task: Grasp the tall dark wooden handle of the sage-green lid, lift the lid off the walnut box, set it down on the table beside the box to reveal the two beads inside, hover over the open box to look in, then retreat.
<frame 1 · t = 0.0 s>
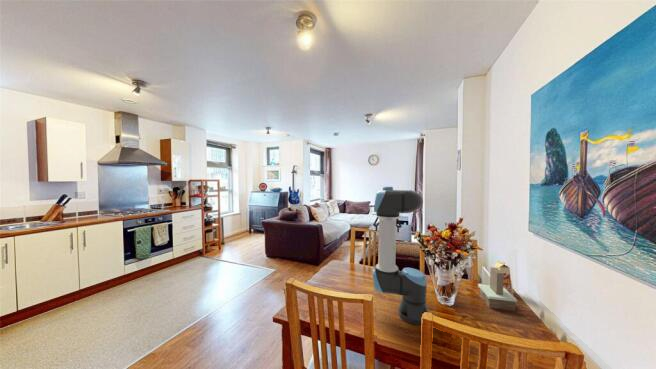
hand: (386, 236, 167), 28 cm above the table, fingers open, 13 cm apart
ivory bead: (502, 305, 126), point 1 cm above the table, touching walnut box
terracotta bead: (489, 298, 133), point 1 cm above the table, touching walnut box
milk carton: (500, 293, 142), on the table
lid: (496, 293, 129), point 6 cm above the table, touching walnut box
walnut box: (495, 303, 129), on the table
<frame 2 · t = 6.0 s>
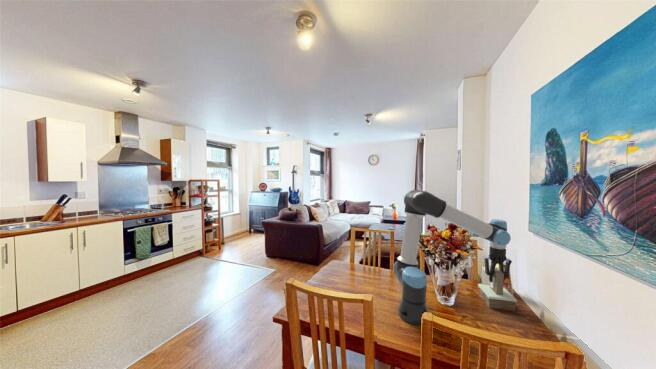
hand: (496, 287, 129), 9 cm above the table, fingers closed on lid, 3 cm apart
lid: (496, 293, 129), point 6 cm above the table, touching gripper, walnut box
everything else where it was.
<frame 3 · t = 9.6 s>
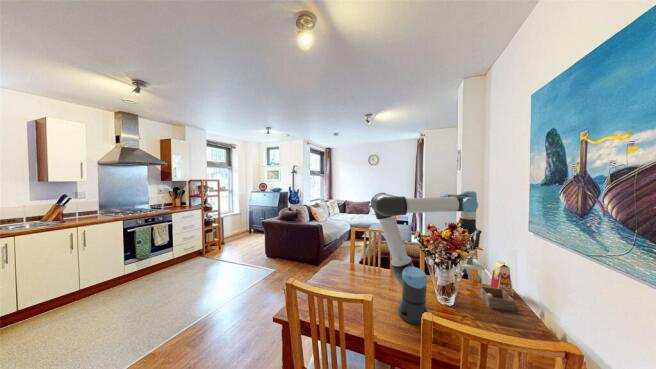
hand: (467, 258, 130), 25 cm above the table, fingers closed on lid, 3 cm apart
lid: (466, 263, 131), point 22 cm above the table, touching gripper
everything else where it was.
when the fingers open (5 cm above the table, at t = 13.4 s): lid drops 2 cm, on the table.
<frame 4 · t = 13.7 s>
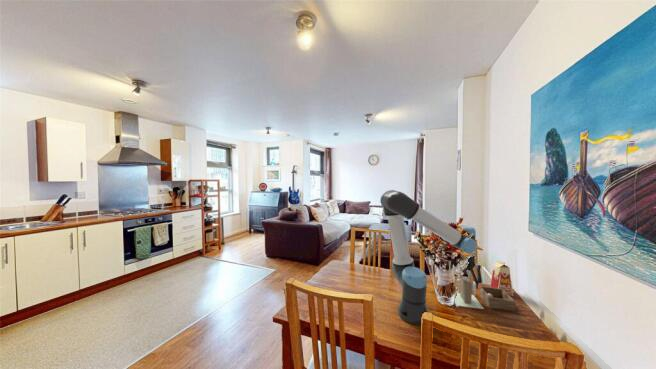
hand: (465, 292, 131), 5 cm above the table, fingers open, 8 cm apart
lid: (465, 301, 131), on the table
everything else where it was.
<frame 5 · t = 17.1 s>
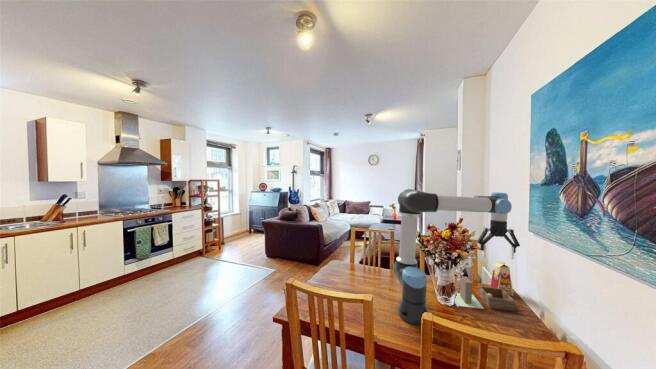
hand: (497, 257, 128), 27 cm above the table, fingers open, 13 cm apart
nothing on the table moved.
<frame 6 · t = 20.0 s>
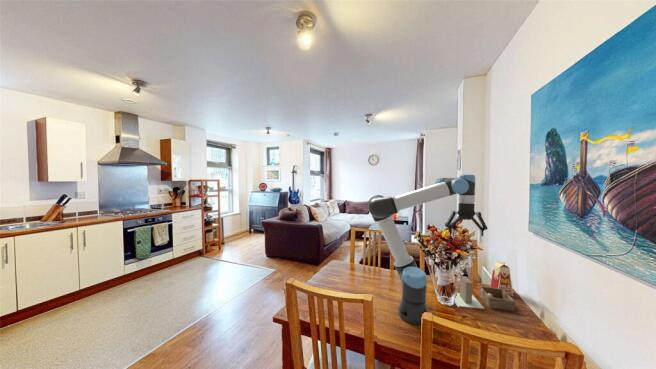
hand: (465, 241, 125), 37 cm above the table, fingers open, 13 cm apart
nothing on the table moved.
at the end: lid inside the target area (0.0 cm from its centre), on the table; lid tilted 0°; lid touching table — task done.
